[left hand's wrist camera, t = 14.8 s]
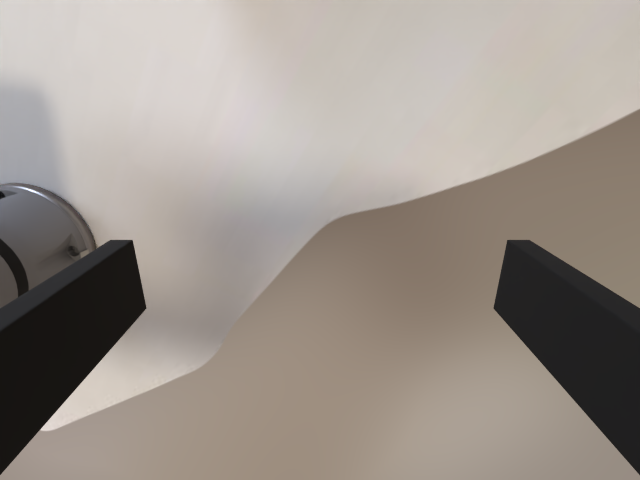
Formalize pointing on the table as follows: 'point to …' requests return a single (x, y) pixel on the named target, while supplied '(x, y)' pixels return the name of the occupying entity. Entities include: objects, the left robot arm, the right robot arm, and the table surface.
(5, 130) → the table surface
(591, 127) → the table surface
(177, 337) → the table surface
